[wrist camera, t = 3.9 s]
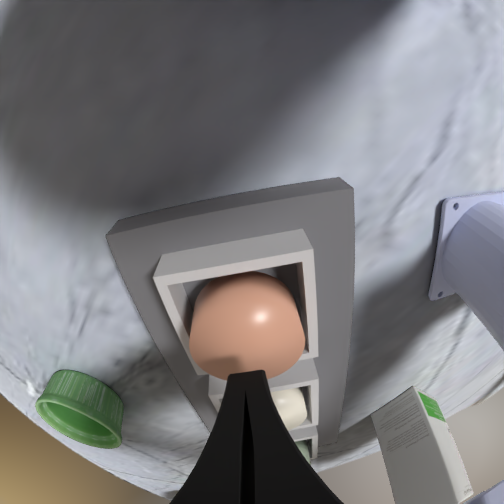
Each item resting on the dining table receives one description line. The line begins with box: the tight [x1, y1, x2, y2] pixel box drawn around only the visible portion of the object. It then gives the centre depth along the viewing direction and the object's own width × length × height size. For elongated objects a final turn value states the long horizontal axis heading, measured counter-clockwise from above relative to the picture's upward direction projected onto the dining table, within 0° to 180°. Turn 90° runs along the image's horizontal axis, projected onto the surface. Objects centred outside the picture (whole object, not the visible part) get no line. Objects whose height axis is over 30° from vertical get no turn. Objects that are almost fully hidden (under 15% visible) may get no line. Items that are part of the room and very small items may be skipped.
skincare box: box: [371, 386, 473, 504], centre depth 21 cm, size 8×7×16 cm
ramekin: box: [35, 370, 124, 449], centre depth 21 cm, size 9×9×4 cm
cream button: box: [271, 387, 307, 430], centre depth 18 cm, size 5×5×2 cm
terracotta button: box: [189, 271, 305, 381], centre depth 13 cm, size 5×5×2 cm
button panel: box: [106, 177, 355, 460], centre depth 19 cm, size 12×28×4 cm, turn 10°
